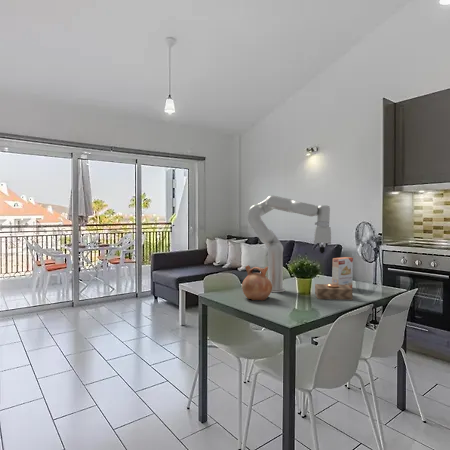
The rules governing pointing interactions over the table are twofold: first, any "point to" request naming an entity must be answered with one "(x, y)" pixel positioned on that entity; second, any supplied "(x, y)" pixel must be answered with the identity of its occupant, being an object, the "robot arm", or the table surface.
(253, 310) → the table surface
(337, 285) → the knob
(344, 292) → the brown patterned box
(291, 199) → the robot arm
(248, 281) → the jug
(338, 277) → the cracker box
